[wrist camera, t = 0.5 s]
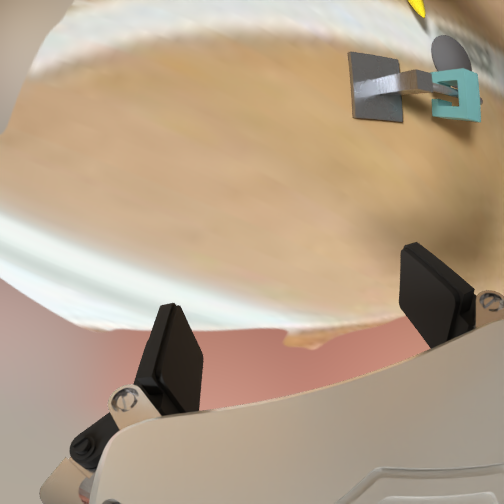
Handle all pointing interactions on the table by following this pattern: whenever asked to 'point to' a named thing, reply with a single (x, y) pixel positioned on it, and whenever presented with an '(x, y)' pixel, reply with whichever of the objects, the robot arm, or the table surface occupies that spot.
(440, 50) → the coaster
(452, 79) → the link
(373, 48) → the table surface
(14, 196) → the table surface
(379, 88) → the stand
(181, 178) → the table surface
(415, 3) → the banana
